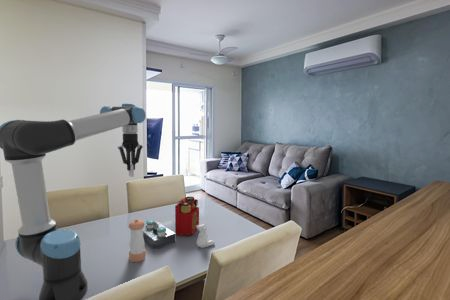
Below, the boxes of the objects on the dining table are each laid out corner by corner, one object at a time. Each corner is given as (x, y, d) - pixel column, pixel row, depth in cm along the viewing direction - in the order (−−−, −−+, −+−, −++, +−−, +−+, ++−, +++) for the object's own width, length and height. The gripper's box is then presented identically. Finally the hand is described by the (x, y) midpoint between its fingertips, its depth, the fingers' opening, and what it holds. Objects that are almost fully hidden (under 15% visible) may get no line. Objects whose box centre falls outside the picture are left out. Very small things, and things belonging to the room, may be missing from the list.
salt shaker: (128, 263, 111) (127, 223, 109) (130, 254, 118) (129, 217, 116) (145, 260, 113) (144, 221, 111) (145, 252, 120) (145, 215, 118)
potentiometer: (152, 231, 132) (152, 222, 131) (153, 228, 135) (153, 220, 134) (158, 231, 132) (157, 222, 131) (159, 228, 135) (158, 220, 134)
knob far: (149, 236, 135) (148, 224, 134) (145, 232, 138) (144, 221, 137) (156, 233, 138) (156, 221, 137) (152, 230, 141) (152, 219, 140)
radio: (191, 237, 136) (191, 203, 134) (174, 235, 138) (174, 201, 136) (199, 225, 152) (200, 194, 149) (184, 223, 153) (184, 193, 151)
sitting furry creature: (215, 244, 130) (215, 223, 128) (205, 251, 122) (205, 229, 121) (201, 239, 135) (201, 218, 133) (191, 245, 128) (191, 224, 126)
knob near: (159, 244, 126) (159, 231, 125) (155, 240, 130) (155, 228, 129) (167, 241, 129) (167, 228, 128) (163, 238, 133) (163, 225, 132)
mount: (154, 249, 123) (154, 240, 122) (137, 235, 137) (137, 227, 136) (175, 242, 131) (175, 233, 130) (157, 229, 145) (157, 221, 145)
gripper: (120, 133, 122) (121, 179, 125) (144, 133, 131) (145, 175, 134) (115, 132, 128) (116, 176, 131) (138, 132, 137) (139, 173, 140)
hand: (131, 176), depth 132 cm, fingers closed
